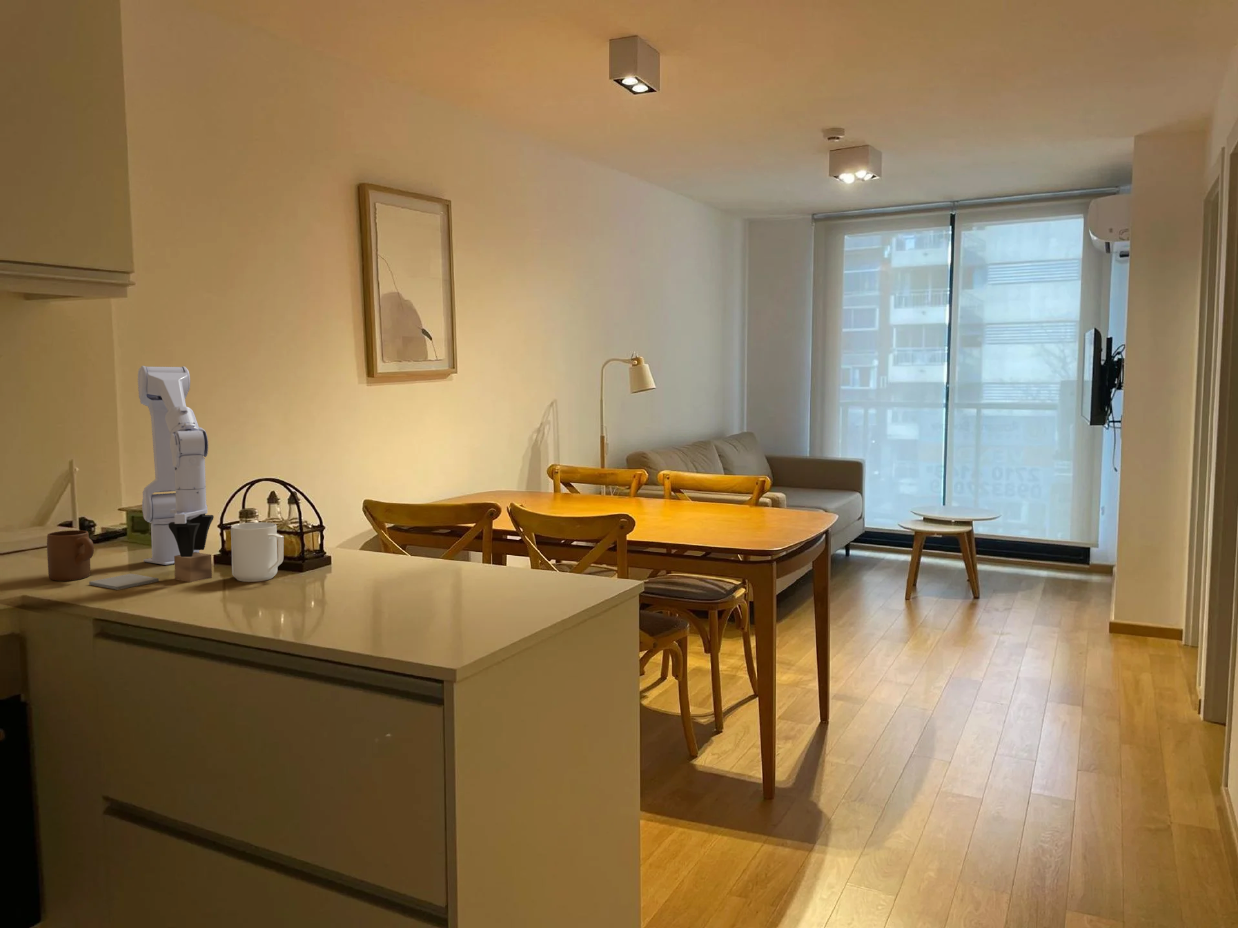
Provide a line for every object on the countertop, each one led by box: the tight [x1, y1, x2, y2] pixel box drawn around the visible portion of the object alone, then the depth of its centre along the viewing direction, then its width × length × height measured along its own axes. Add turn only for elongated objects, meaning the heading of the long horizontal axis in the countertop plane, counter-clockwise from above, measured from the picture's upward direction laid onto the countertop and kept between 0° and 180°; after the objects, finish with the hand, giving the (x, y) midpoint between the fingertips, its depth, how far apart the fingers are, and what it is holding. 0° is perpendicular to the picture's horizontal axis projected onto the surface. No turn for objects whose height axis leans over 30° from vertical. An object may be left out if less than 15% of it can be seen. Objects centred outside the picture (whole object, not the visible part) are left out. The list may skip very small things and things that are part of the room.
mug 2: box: [230, 521, 285, 583], centre depth 193 cm, size 12×9×11 cm
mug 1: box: [46, 529, 95, 582], centre depth 191 cm, size 12×8×9 cm, turn 60°
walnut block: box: [173, 552, 213, 583], centre depth 193 cm, size 5×5×5 cm
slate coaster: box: [88, 573, 160, 591], centre depth 188 cm, size 9×9×1 cm
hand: (192, 553), depth 193 cm, fingers open, 7 cm apart
